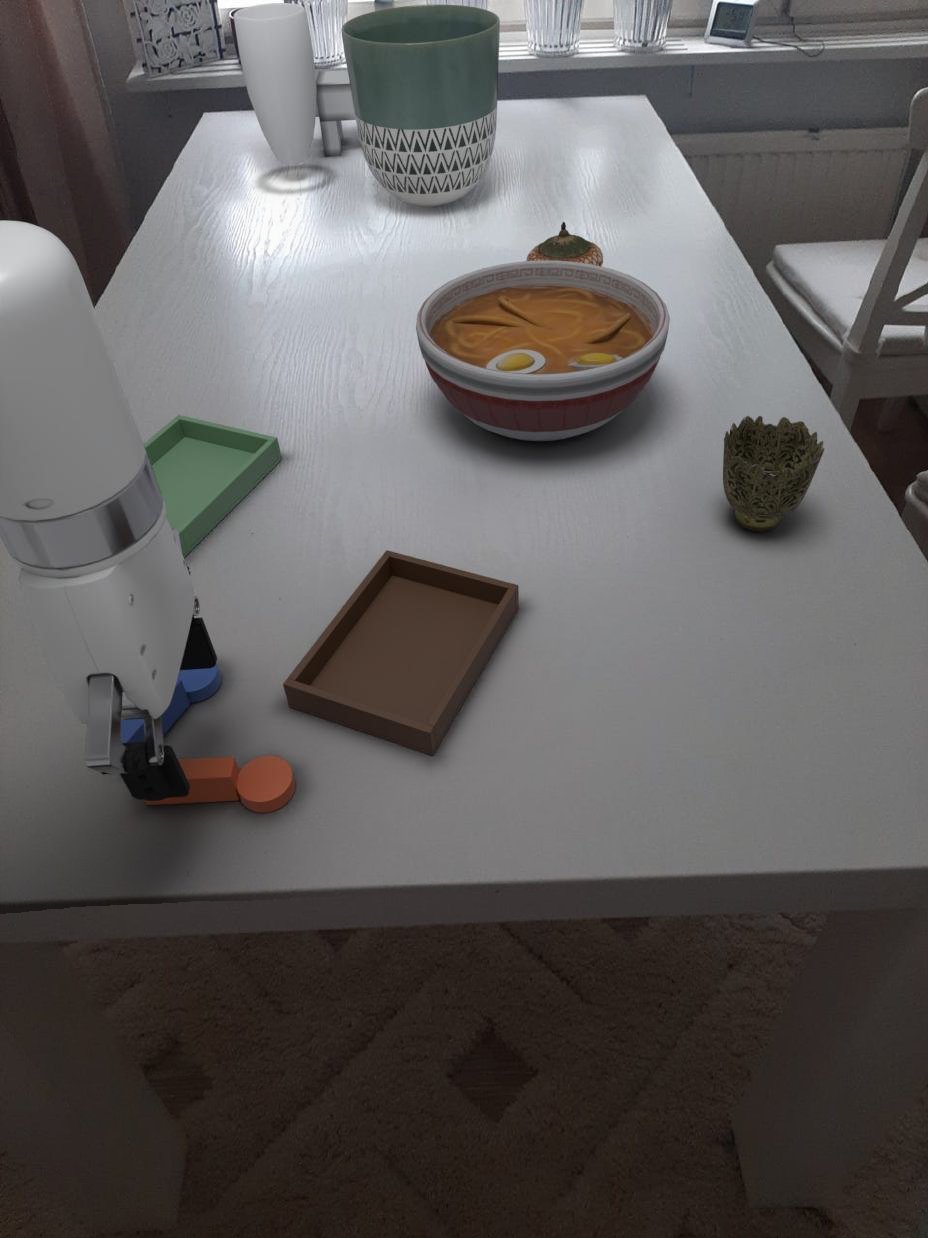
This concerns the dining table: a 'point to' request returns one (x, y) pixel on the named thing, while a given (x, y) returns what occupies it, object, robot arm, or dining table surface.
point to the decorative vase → (768, 469)
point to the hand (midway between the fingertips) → (178, 726)
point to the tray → (404, 650)
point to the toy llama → (337, 101)
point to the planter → (425, 97)
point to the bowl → (542, 345)
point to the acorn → (567, 249)
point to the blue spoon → (177, 701)
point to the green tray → (206, 472)
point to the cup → (279, 75)
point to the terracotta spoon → (237, 782)
